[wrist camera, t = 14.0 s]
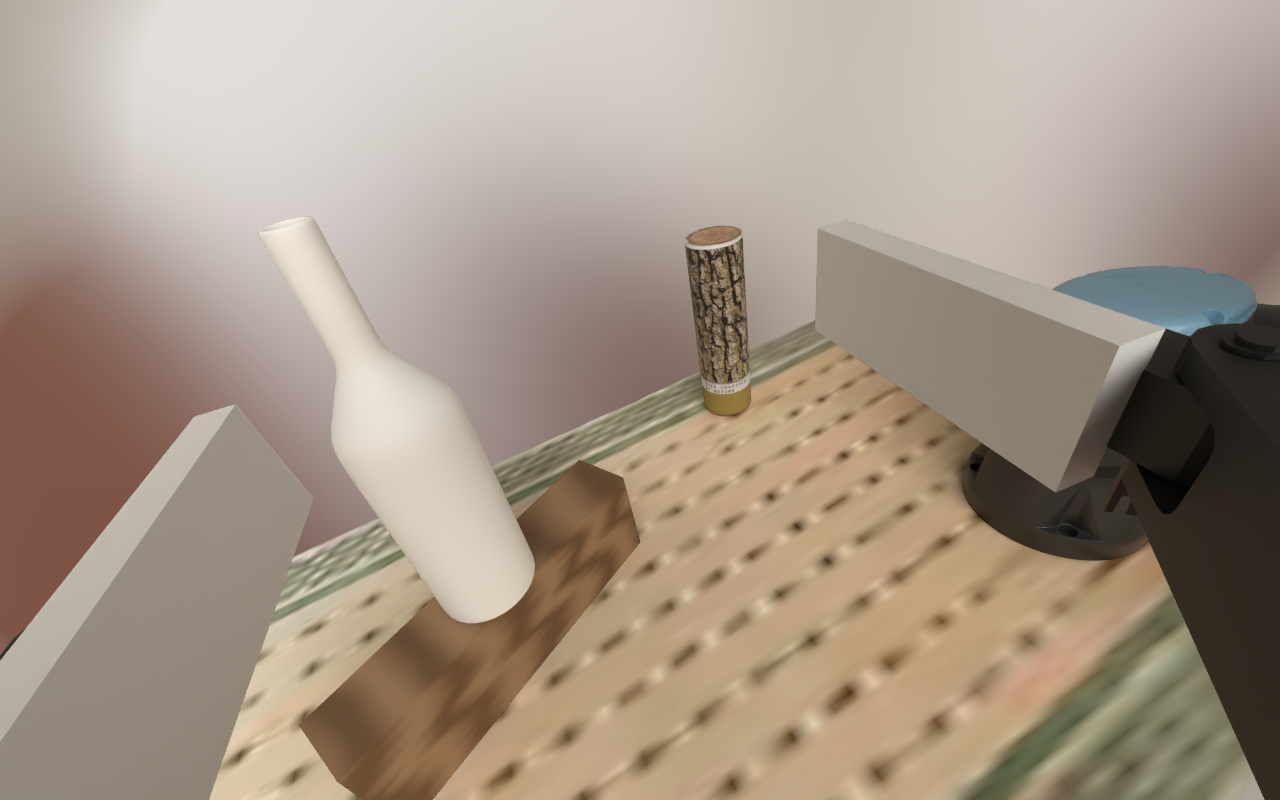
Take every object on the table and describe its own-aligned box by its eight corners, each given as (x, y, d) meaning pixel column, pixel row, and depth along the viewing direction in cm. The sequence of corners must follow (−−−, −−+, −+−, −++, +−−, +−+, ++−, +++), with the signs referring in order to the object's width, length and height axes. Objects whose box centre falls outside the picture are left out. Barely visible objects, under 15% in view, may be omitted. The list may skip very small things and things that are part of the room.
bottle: (458, 546, 46) (262, 216, 29) (542, 536, 45) (392, 190, 28) (428, 629, 39) (148, 265, 22) (526, 619, 38) (315, 233, 21)
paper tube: (760, 407, 71) (753, 233, 57) (719, 424, 69) (700, 250, 55) (735, 385, 76) (723, 222, 62) (696, 400, 75) (675, 236, 61)
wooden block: (599, 522, 58) (579, 459, 53) (640, 542, 55) (622, 477, 49) (367, 778, 40) (298, 725, 35) (406, 831, 37) (337, 781, 31)
